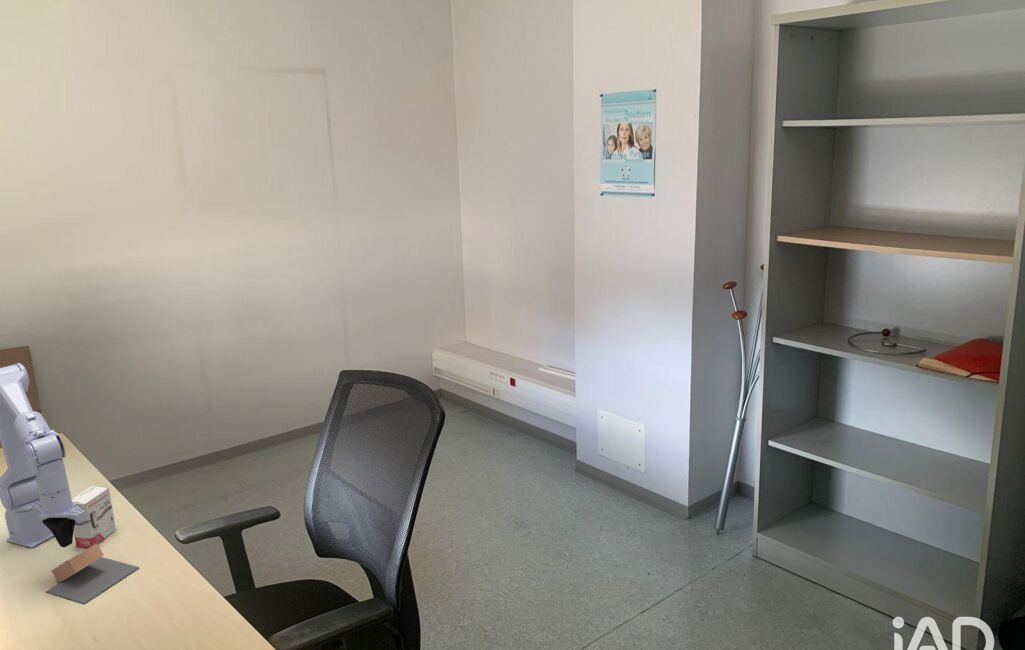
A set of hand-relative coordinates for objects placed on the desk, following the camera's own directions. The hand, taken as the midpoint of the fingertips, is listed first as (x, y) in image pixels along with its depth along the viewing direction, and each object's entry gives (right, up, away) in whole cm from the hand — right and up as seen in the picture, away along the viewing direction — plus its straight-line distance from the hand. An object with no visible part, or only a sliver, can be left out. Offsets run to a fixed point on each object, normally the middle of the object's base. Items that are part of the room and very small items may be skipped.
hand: (66, 544), depth 173 cm
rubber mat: (+6, -8, -1) cm, 10 cm away
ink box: (-2, -3, +17) cm, 17 cm away
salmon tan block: (-1, -6, +2) cm, 6 cm away
